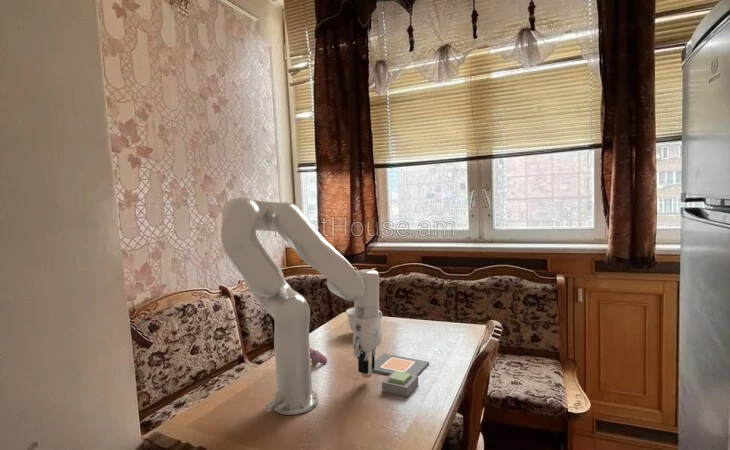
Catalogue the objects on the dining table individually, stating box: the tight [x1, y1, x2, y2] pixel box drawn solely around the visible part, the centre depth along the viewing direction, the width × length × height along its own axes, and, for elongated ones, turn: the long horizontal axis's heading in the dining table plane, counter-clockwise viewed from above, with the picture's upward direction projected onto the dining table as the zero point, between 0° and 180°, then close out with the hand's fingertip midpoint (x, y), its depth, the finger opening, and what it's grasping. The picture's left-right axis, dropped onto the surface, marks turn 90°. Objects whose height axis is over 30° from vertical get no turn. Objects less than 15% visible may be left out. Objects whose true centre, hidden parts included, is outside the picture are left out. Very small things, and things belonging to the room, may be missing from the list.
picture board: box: [372, 353, 430, 377], centre depth 131 cm, size 13×17×1 cm
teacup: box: [345, 307, 383, 332], centre depth 163 cm, size 12×15×10 cm
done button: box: [389, 371, 411, 385], centre depth 116 cm, size 5×5×2 cm
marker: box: [360, 348, 373, 379], centre depth 120 cm, size 3×3×10 cm
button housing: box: [381, 371, 419, 399], centre depth 116 cm, size 8×8×3 cm
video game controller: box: [310, 347, 328, 366], centre depth 136 cm, size 10×5×7 cm, turn 63°
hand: (366, 369), depth 120 cm, fingers closed on marker, 3 cm apart
